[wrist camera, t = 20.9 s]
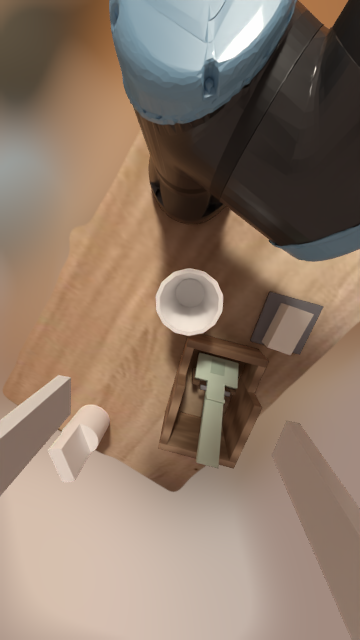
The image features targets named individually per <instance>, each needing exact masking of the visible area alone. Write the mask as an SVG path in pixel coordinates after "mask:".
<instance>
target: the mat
mask: <svg viewBox="0 0 360 640" xmlns="http://www.w3.org/2000/svg"><path fill="white" fill-rule="evenodd" d="M281 303H283V304H286V305H289V306H292V307H295V308H298V309H300V310H303V311H306V312H309V313H312V314H314V315H313V317H312V319H311V321H310V322H309V324H308V326H307V328H306V329H305V331H304V333H303V335H302V336H301V338H300V340H299V342H298V343H297V345H296V347H295V349H294V350H293V352H292V353H296V354H300V353H301V351H302V349H303V347H304V345H305V343H306V341H307V339H308V337H309V335H310V333H311V331H312V329H313V327H314V325H315V323H316V321H317V319H318V317H319V314H320V312H321V310H322V308H323V306H320V305H317V304H313V303H309V302H306V301H302V300H298V299H295V298H291V297H287V296H284V295H280V294H276V293H273V292H269V294H268V297H267V299H266V302H265V304H264V307H263V309H262V312H261V314H260V317H259V319H258V322H257V324H256V327H255V329H254V332H253V334H252V337H251V339H250V341H252V342H255V343H259V344H263V343H262V340H263V338H264V336H265V334H266V332H267V330H268V328H269V326H270V324H271V322H272V320H273V318H274V316H275V314H276V312H277V310H278V308H279V306H280V304H281ZM263 345H264V344H263Z"/></svg>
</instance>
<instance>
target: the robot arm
mask: <svg viewBox="0 0 360 640" xmlns="http://www.w3.org/2000/svg"><path fill="white" fill-rule="evenodd" d="M109 3H110V21H111V30H112V36H113V41H114V45H115V50H116V53H117V57H118V60H119V63H120V67H121V71H122V76H123V84H124V88H125V91H126V94H127V96H128V98H129V100H130V103H131V104H132V105H133V107H134V110H135V113H136V116H137V118H138V122H139V124H140V127H141V130H142V133H143V136H144V138H145V141H146V144H147V147H148V150H149V152H150V159H149V180H150V185H151V188H152V191H153V194H154V196H155V198H156V200H157V202H158V204H159V206H160V207H161V208H162V210H163V211H164V212H165V213H166V214H167V215H168V216H170V217H171V218H173V219H174V220H176V221H179V222H181V223H186V224H197V223H202V222H205V221H207V220H209V219H211V218H213V217H214V216H216V215H217V214H218V213H219V212H220V211H221V210H222V209H223V208H224V207H225V206H227V207H228V208H229V209H230V210H232V211H233V212H234V213H236V214H237V215H238V216H240V217H241V218H242V219H243V220H245V221H246V222H247V223H249V224H250V225H251V226H252V227H254V228H255V229H256V230H258V231H259V232H260V233H262V234H263V235H264V236H265V237H267V238H268V239H269V242H270V243H271V244H272V245H274V246H275V247H278V248H281V249H283V250H284V251H286V252H287V253H289V254H290V255H292V256H293V257H295V258H296V259H299V260H305V261H313V262H314V261H323V260H329V259H333V258H336V257H340V256H343V255H346V254H348V253H351V252H354V251H356V250H358V249H360V0H348V2H347V4H346V5H345V7H344V9H343V11H342V12H341V14H340V15H339V17H338V19H337V20H336V22H335V24H334V25H333V27H331V28H330V29H328V28H326V27H325V26H324V25H323V24H322V23H321V22H320V21H319V20H318V19H317V18H315V17H314V16H313V15H312V13H310V11H308V10H307V8H306V7H305V6H304V5H303V4H302V3H300V2H299V1H298V0H110V1H109ZM70 408H71V377H66V376H61V375H58V376H57V377H55V378H54V379H53V380H51V381H50V382H49V383H48V384H46V385H45V386H44V387H42V388H41V389H40V390H38V391H37V392H36V393H35V394H33V395H32V396H31V397H29V398H28V399H27V400H25V401H24V402H23V403H22V404H20V405H19V406H18V407H16V408H15V409H14V410H12V411H11V412H10V413H9V414H7V415H6V416H5V417H3V418H2V419H1V420H0V495H1V494H2V493H3V492H4V491H5V490H6V489H7V487H8V486H9V485H10V484H11V483H12V482H13V480H14V479H15V478H16V477H17V476H18V475H19V473H20V472H21V471H22V470H23V469H24V468H25V466H26V465H27V464H28V463H29V462H30V461H31V459H32V458H33V457H34V456H35V455H36V454H37V452H38V451H39V450H40V449H41V448H42V447H43V445H44V444H45V443H46V442H47V441H48V440H49V438H50V437H51V436H52V435H53V434H54V433H55V431H56V430H57V429H58V428H59V427H60V426H61V424H62V423H63V422H64V421H65V420H66V419H67V417H68V416H69V415H70ZM272 457H273V459H274V461H275V464H276V466H277V469H278V471H279V473H280V476H281V478H282V480H283V482H284V485H285V487H286V489H287V492H288V494H289V496H290V499H291V501H292V503H293V506H294V508H295V510H296V512H297V515H298V517H299V519H300V522H301V524H302V526H303V528H304V531H305V533H306V535H307V538H308V540H309V542H310V545H311V547H312V549H313V552H314V554H315V556H316V559H317V561H318V563H319V565H320V568H321V570H322V572H323V575H324V577H325V579H326V582H327V584H328V586H329V589H330V591H331V593H332V596H333V598H334V600H335V602H336V605H337V607H338V609H339V612H340V614H341V616H342V619H343V621H344V623H345V625H346V628H347V630H348V632H349V635H350V637H351V639H352V640H360V508H359V507H358V505H357V504H356V503H355V501H354V500H353V498H352V497H351V495H350V494H349V493H348V491H347V490H346V489H345V487H344V486H343V484H342V483H341V481H340V480H339V479H338V477H337V476H336V474H335V473H334V472H333V470H332V469H331V467H330V466H329V464H328V463H327V462H326V460H325V459H324V457H323V456H322V455H321V453H320V452H319V450H318V449H317V447H316V446H315V445H314V443H313V442H312V440H311V439H310V438H309V436H308V435H307V433H306V432H305V431H304V429H303V428H302V426H301V425H300V424H299V423H295V422H290V421H286V423H285V425H284V428H283V430H282V432H281V435H280V437H279V439H278V442H277V444H276V446H275V449H274V451H273V453H272Z"/></svg>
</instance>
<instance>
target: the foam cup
mask: <svg viewBox="0 0 360 640" xmlns="http://www.w3.org/2000/svg"><path fill="white" fill-rule="evenodd" d="M222 310H223V294H222V292H221V290H220V287H219V285H218V283H217V281H216V280H214V279H213V278H212V277H211V276H210V275H208V274H207V273H206V272H205V271H200V270H196V269H191V268H187V269H183V270H179V271H175V272H173V273H172V274H171V275H169V276H168V277H167V278H166V279H165V280H164V281H162V283H161V285H160V287H159V290H158V292H157V294H156V311H157V313H158V315H159V317H160V319H161V321H162V323H163V324H164V325H165V326H167V327H168V328H169V329H171V330H172V331H173V332H175V333H178V334H183V335H187V336H191V335H196V334H201V333H204V332H205V331H207V330H208V329H209V328H211V327H212V326H214V325H215V324H216V322H217V320H218V318H219V317H220V315H221V313H222Z"/></svg>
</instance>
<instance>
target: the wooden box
mask: <svg viewBox="0 0 360 640" xmlns="http://www.w3.org/2000/svg"><path fill="white" fill-rule="evenodd" d="M194 349H197V350H201V351H205V352H209V353H212V354H216V355H220V356H223V357H227V358H231V359H235V360H238V361H242V362H246V364H245V366H244V368H243V371H242V373H241V376H240V378H239V381H238V388H237V389H232V388H229V387H227V388H228V391H229V392H230V394H233V395H232V398H231V400H230V403H229V405H228V408H227V410H226V413H225V415H224V418H223V420H222V428H221V441H220V453H219V465H223V466H226V467H230V468H234V467H235V464H236V462H237V460H238V458H239V456H240V454H241V452H242V449H243V447H244V445H245V443H246V441H247V439H248V437H249V435H250V432H251V430H252V428H253V426H254V424H255V422H256V420H257V418H258V416H259V414H260V411H261V409H262V406H261V404H260V402H259V401H258V399H257V397H256V395H255V391H256V389H257V387H258V385H259V382H260V380H261V378H262V376H263V373H264V371H265V369H266V367H267V364H268V362H269V361H268V360H267V358H266V357H265V356H264V355H263V354H262V353H261V352H260V350H259V349H255V348H252V347H248V346H244V345H241V344H237V343H233V342H230V341H226V340H222V339H218V338H215V337H211V336H207V335H204V334H196V335H191V336H187V339H186V343H185V346H184V350H183V353H182V356H181V360H180V363H179V367H178V370H177V374H176V377H175V380H174V384H173V387H172V391H171V394H170V398H169V401H168V404H167V408H166V411H165V416H164V421H163V426H162V431H161V437H160V442H159V447H158V448H159V449H162V450H166V451H170V452H174V453H177V454H181V455H185V456H189V457H192V458H196V456H197V449H198V442H199V434H200V427H201V419H202V418H201V417H197V416H194V415H190V414H186V413H182V412H179V411H178V409H179V405H180V402H181V399H182V396H183V393H184V389H185V382H186V373H187V370H188V366H189V363H190V360H191V357H192V354H193V350H194ZM195 371H196V369H194V368H193V369H192V384H195V385H199V379H195V378H194V377H195Z"/></svg>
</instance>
